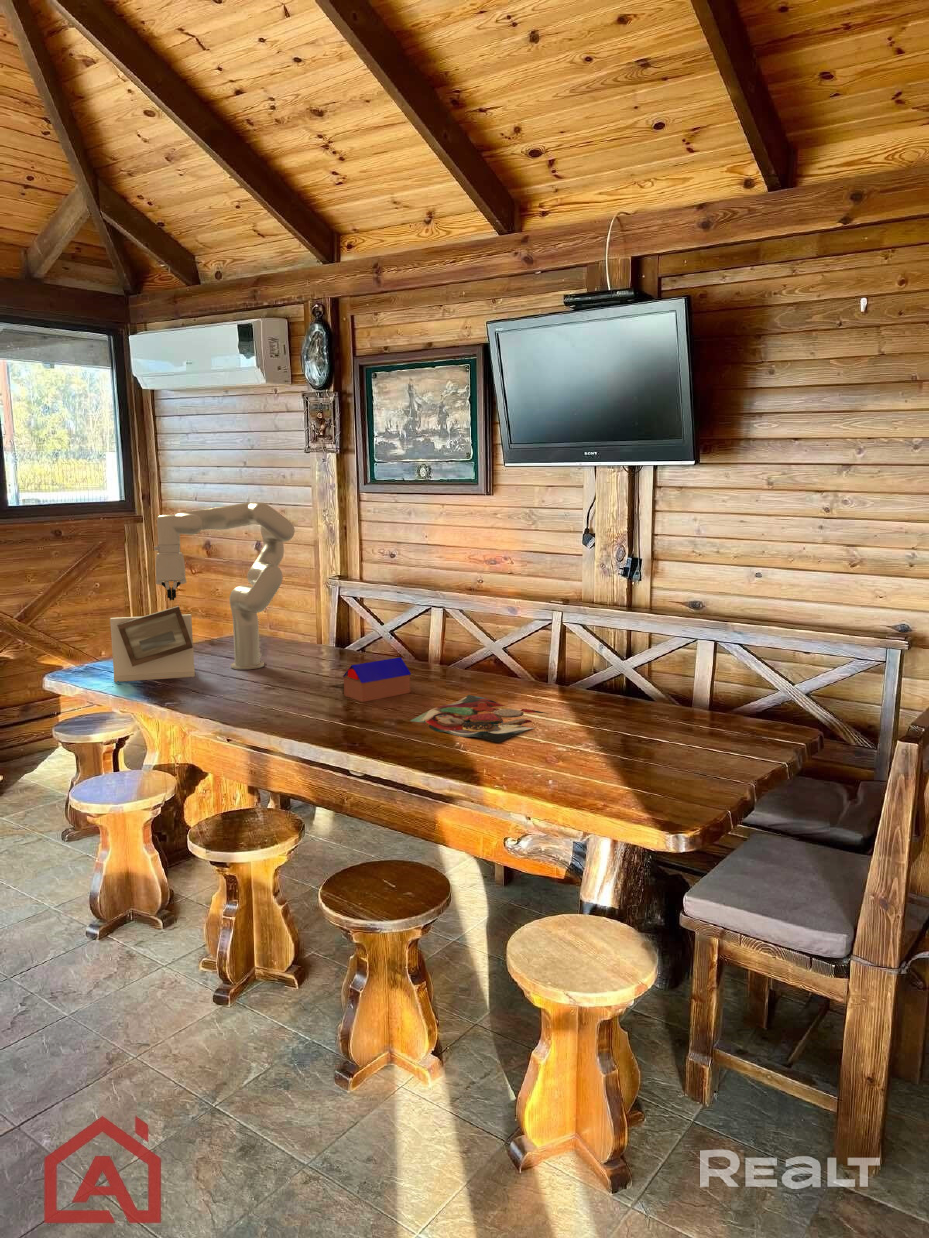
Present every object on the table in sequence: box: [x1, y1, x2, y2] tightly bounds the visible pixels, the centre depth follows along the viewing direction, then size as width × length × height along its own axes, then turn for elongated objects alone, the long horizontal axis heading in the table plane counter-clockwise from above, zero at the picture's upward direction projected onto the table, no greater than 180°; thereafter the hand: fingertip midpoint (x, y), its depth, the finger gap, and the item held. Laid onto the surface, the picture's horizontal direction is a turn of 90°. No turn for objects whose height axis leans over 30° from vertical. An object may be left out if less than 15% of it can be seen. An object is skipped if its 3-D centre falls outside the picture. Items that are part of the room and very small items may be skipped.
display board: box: [109, 613, 196, 683], centre depth 336 cm, size 8×28×23 cm, turn 106°
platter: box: [409, 694, 550, 743], centre depth 278 cm, size 36×36×2 cm
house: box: [342, 657, 412, 703], centre depth 310 cm, size 12×20×12 cm, turn 129°
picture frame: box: [117, 605, 194, 667], centre depth 331 cm, size 2×22×16 cm, turn 106°
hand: (171, 599), depth 331 cm, fingers closed
